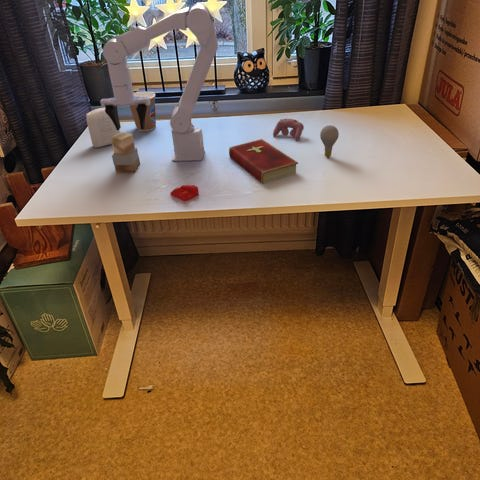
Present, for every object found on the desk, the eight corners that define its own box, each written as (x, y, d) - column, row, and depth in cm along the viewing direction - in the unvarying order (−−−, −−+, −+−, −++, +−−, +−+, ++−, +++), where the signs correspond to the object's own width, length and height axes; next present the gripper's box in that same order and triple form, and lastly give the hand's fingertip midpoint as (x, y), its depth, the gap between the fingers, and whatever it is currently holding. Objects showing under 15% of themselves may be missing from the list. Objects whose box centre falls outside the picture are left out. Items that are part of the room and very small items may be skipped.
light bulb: (340, 156, 137) (342, 125, 131) (330, 162, 134) (332, 130, 128) (325, 151, 140) (327, 121, 134) (315, 157, 137) (317, 126, 131)
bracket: (199, 196, 121) (197, 186, 120) (185, 203, 119) (184, 193, 117) (184, 189, 125) (182, 180, 123) (170, 196, 122) (169, 186, 121)
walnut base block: (140, 165, 140) (138, 156, 138) (135, 173, 135) (133, 164, 133) (122, 165, 140) (120, 156, 139) (116, 173, 135) (114, 165, 134)
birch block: (135, 149, 135) (132, 134, 132) (124, 155, 132) (121, 139, 129) (124, 147, 137) (121, 132, 134) (114, 152, 134) (110, 137, 131)
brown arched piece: (302, 142, 151) (306, 121, 150) (297, 141, 147) (301, 119, 146) (276, 137, 156) (280, 117, 154) (271, 136, 152) (275, 115, 150)
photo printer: (119, 138, 159) (111, 103, 152) (123, 141, 156) (116, 106, 149) (91, 145, 154) (82, 110, 147) (95, 149, 151) (86, 114, 144)
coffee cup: (157, 132, 161) (152, 99, 154) (130, 133, 162) (123, 100, 155) (162, 122, 170) (157, 90, 163) (135, 123, 170) (129, 92, 163)
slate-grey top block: (138, 156, 138) (136, 147, 136) (133, 164, 133) (131, 155, 131) (120, 156, 139) (118, 147, 137) (113, 164, 134) (111, 155, 132)
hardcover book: (262, 185, 125) (261, 172, 123) (229, 159, 140) (228, 146, 138) (297, 174, 129) (298, 161, 127) (262, 150, 145) (261, 138, 142)
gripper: (149, 79, 132) (156, 123, 139) (101, 81, 133) (111, 124, 140) (143, 85, 126) (151, 131, 134) (94, 88, 127) (105, 133, 135)
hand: (130, 128), depth 137 cm, fingers open, 7 cm apart
